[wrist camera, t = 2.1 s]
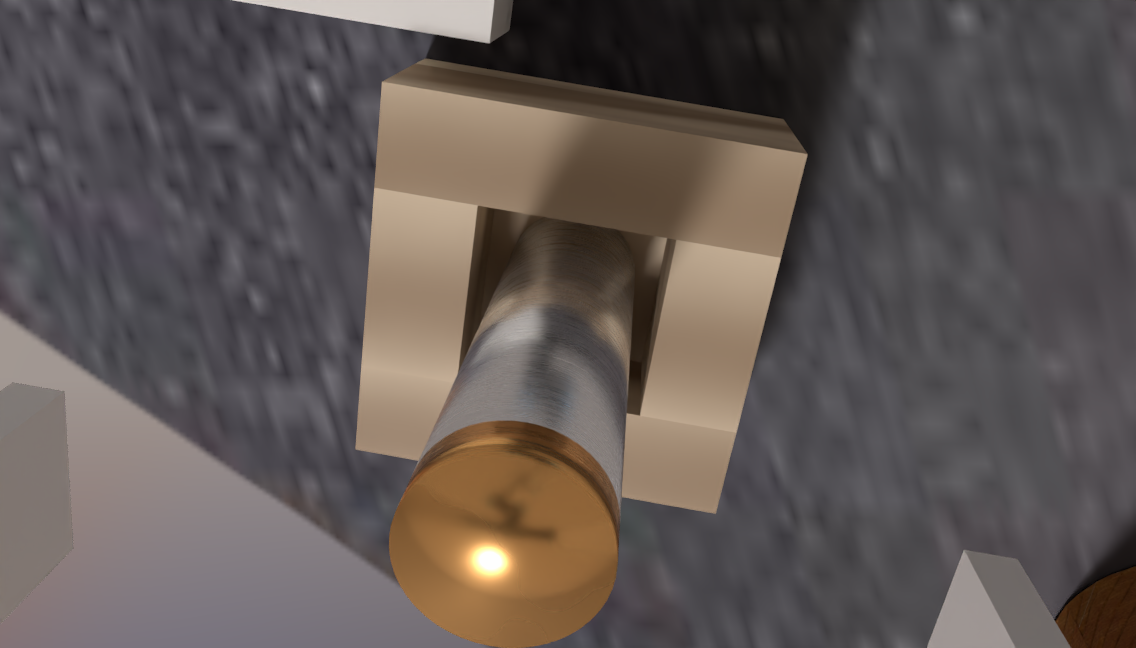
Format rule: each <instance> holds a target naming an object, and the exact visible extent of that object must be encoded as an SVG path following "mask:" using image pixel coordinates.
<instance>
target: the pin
mask: <svg viewBox="0 0 1136 648" xmlns="http://www.w3.org/2000/svg"><path fill="white" fill-rule="evenodd" d="M634 284H635V263H634V258H633V254H632V251H631V249H630V247H629V244H628V243H627V241H626V239H625V238H624V236H623V235H622V234H621V233H620V232H619V230H617V229H611V228H605V227H599V226H593V225H588V224H582V223H576V222H570V221H565V220H559V219H553V218H547V217H542V218H540V219H539V220H537V221H535V222H534V223H533V224H532V225H530V226H529V227H528V228H527V229H526V230H525V231H524V233H523V234H522V235H521V237H520V238H519V240H518V242H517V244H516V246H515V248H514V250H513V252H512V254H511V257H510V259H509V261H508V263H507V266H506V268H505V270H504V272H503V274H502V277H501V279H500V281H499V283H498V286H497V288H496V290H495V292H494V294H493V297H492V299H491V301H490V303H489V306H488V308H487V310H486V312H485V314H484V317H483V319H482V321H481V323H480V326H479V328H478V330H477V332H476V334H475V337H474V339H473V341H472V343H471V346H470V348H469V350H468V352H467V354H466V357H465V359H464V361H463V363H462V366H461V368H460V370H459V372H458V374H457V377H456V379H455V381H454V383H453V386H452V388H451V390H450V392H449V394H448V397H447V399H446V401H445V403H444V406H443V408H442V410H441V412H440V414H439V417H438V419H437V421H436V423H435V426H434V428H433V430H432V432H431V434H430V437H429V439H428V441H427V443H426V446H425V448H424V450H423V452H422V454H421V457H420V459H419V461H418V463H417V466H416V468H415V470H414V472H413V474H412V477H411V479H410V481H409V483H408V486H407V488H406V490H405V492H404V494H403V497H402V499H401V501H400V503H399V506H398V508H397V510H396V512H395V515H394V518H393V521H392V524H391V529H390V535H389V551H390V558H391V563H392V566H393V570H394V573H395V575H396V578H397V580H398V582H399V584H400V586H401V588H402V589H403V591H404V592H405V594H406V595H407V597H408V598H409V599H410V600H411V602H412V603H413V604H414V605H415V606H416V607H417V608H418V609H419V610H420V611H421V612H422V613H423V614H424V615H425V616H426V617H427V618H429V619H430V620H431V621H433V622H434V623H435V624H437V625H438V626H440V627H441V628H443V629H445V630H447V631H448V632H450V633H452V634H454V635H457V636H459V637H461V638H464V639H467V640H469V641H472V642H475V643H480V644H484V645H488V646H495V647H503V648H522V647H532V646H538V645H543V644H547V643H550V642H553V641H556V640H559V639H561V638H564V637H566V636H568V635H570V634H572V633H573V632H575V631H577V630H578V629H580V628H582V627H583V626H584V625H585V624H586V623H588V622H589V621H590V620H591V619H592V618H593V617H594V616H595V615H596V614H597V613H598V612H599V611H600V609H601V608H602V607H603V605H604V604H605V602H606V601H607V599H608V597H609V595H610V593H611V591H612V588H613V585H614V582H615V578H616V572H617V564H618V547H619V531H620V514H621V498H622V481H623V465H624V449H625V432H626V416H627V399H628V383H629V366H630V350H631V333H632V317H633V300H634Z"/></svg>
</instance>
